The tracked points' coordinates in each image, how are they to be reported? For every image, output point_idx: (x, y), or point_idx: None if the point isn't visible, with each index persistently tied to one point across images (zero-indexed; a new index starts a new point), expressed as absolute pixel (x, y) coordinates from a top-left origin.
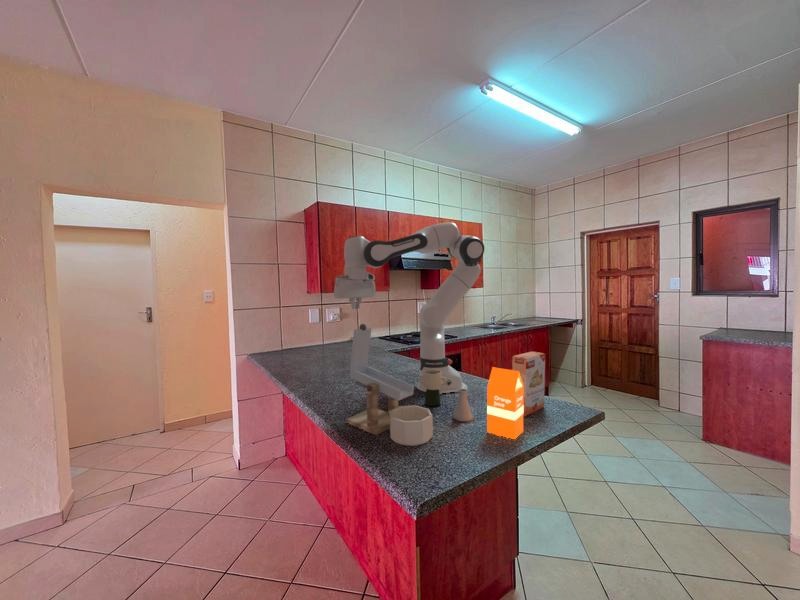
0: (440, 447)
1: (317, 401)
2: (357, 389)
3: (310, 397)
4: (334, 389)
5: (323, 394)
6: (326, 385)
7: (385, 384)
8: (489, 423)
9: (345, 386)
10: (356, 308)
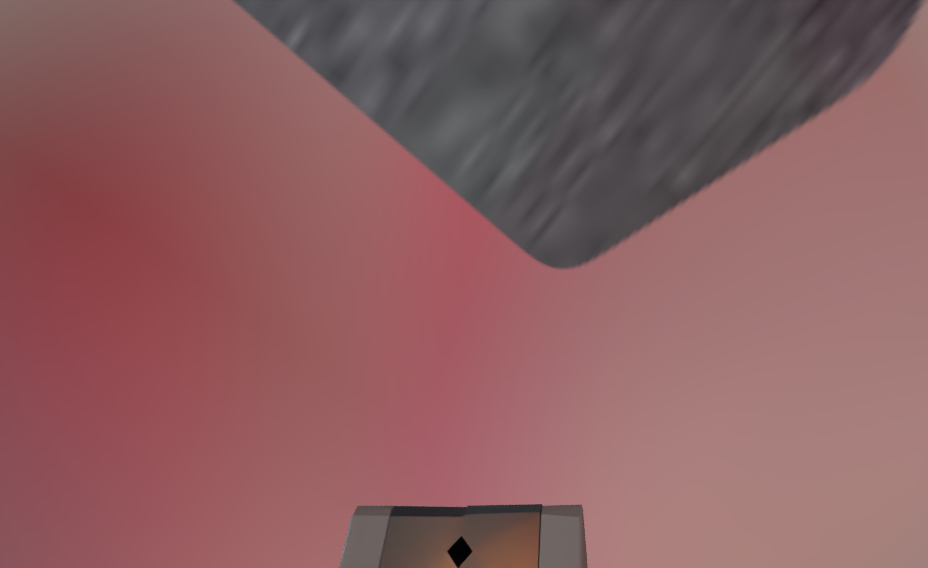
0: None
1: (827, 5)
2: (425, 16)
3: (793, 118)
4: (557, 143)
5: (687, 107)
6: (543, 250)
7: None
8: None
9: (454, 142)
10: (489, 509)
